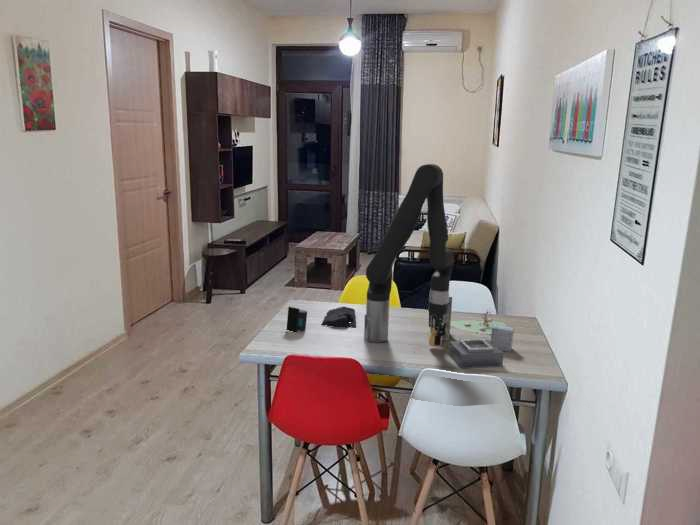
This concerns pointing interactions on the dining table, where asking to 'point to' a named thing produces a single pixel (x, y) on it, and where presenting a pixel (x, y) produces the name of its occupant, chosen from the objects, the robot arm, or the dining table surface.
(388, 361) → the dining table surface
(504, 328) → the medicine box
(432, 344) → the tan stepped cylinder
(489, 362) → the block
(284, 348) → the dining table surface
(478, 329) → the plant
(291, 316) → the speaker
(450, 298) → the coffee box
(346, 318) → the dark slate chunk
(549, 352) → the dining table surface
